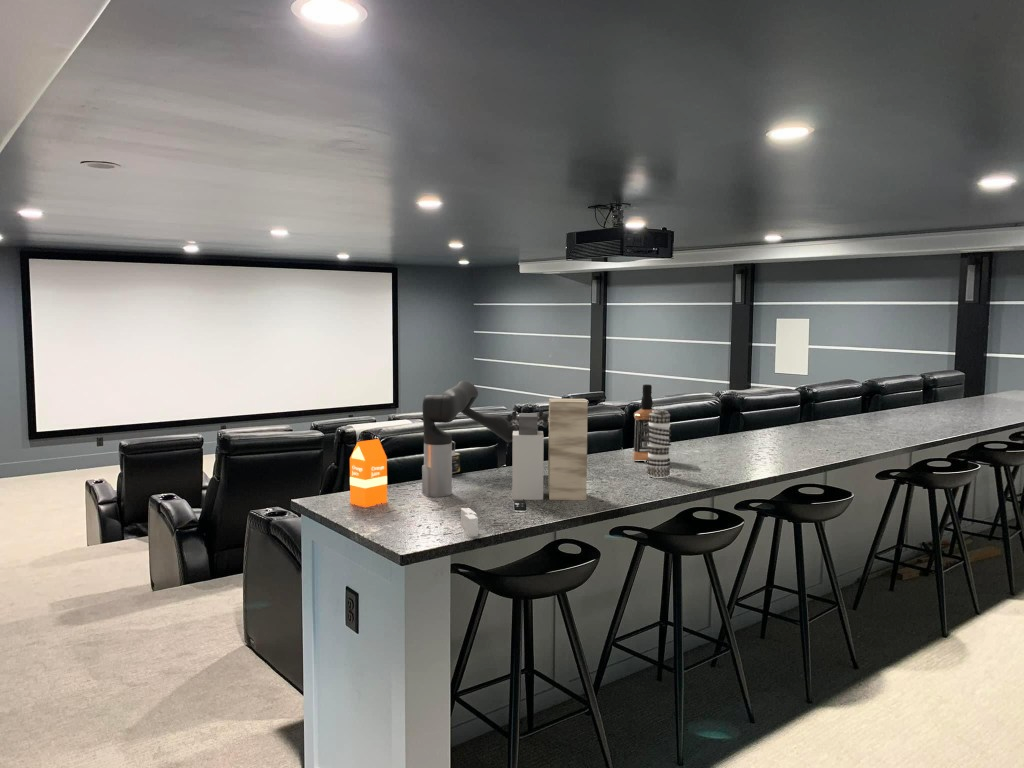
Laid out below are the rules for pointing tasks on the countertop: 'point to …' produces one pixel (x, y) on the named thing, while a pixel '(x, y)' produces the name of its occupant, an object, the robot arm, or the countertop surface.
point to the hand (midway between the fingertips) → (527, 412)
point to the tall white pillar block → (527, 466)
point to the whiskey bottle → (642, 425)
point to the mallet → (527, 423)
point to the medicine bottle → (455, 460)
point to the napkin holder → (469, 522)
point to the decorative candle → (658, 443)
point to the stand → (567, 449)
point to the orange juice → (368, 474)
